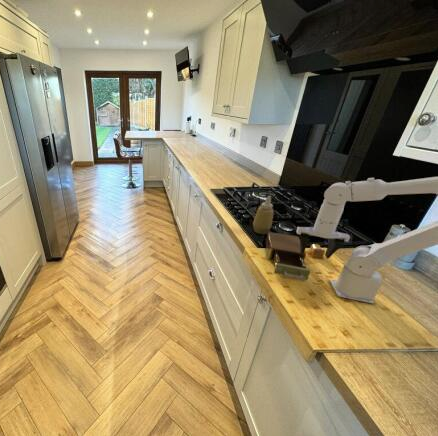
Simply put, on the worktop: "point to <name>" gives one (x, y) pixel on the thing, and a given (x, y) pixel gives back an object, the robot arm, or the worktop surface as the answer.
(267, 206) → the squeeze bottle
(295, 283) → the worktop surface
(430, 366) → the worktop surface
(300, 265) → the drawer
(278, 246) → the cabinet
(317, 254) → the small brown jar
